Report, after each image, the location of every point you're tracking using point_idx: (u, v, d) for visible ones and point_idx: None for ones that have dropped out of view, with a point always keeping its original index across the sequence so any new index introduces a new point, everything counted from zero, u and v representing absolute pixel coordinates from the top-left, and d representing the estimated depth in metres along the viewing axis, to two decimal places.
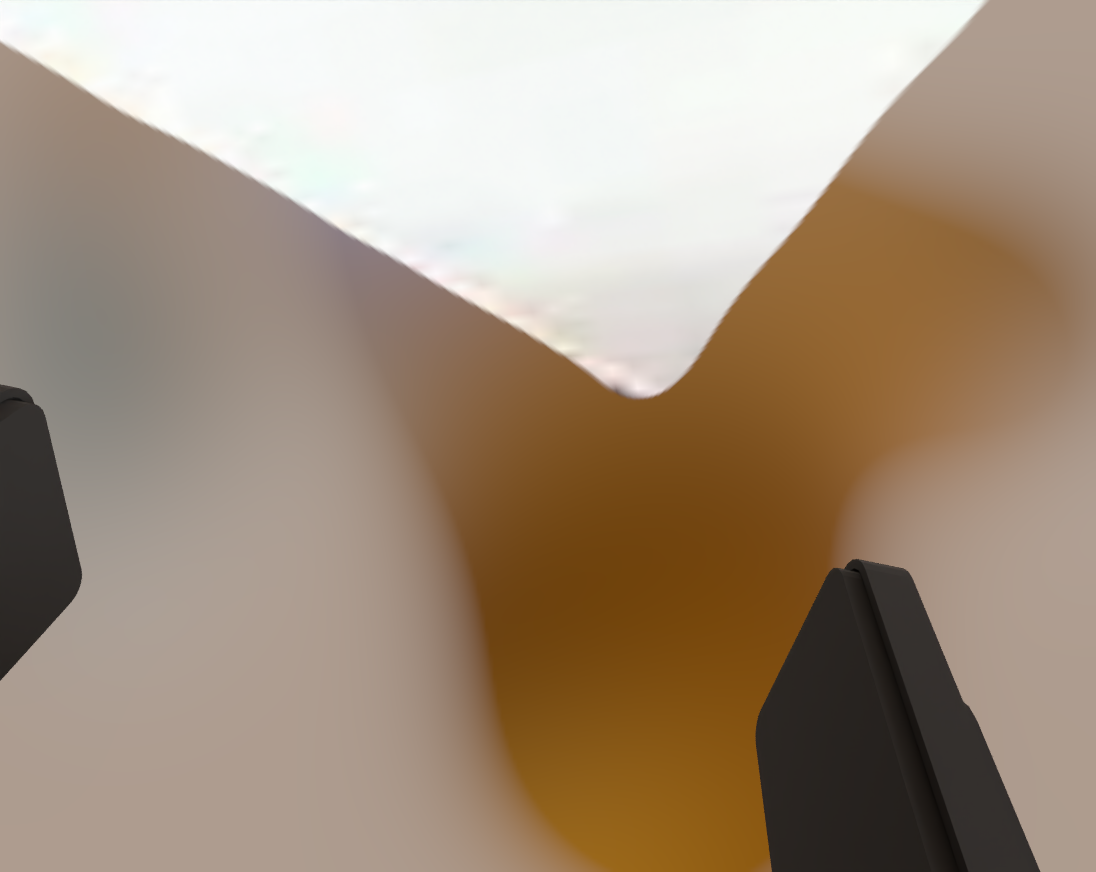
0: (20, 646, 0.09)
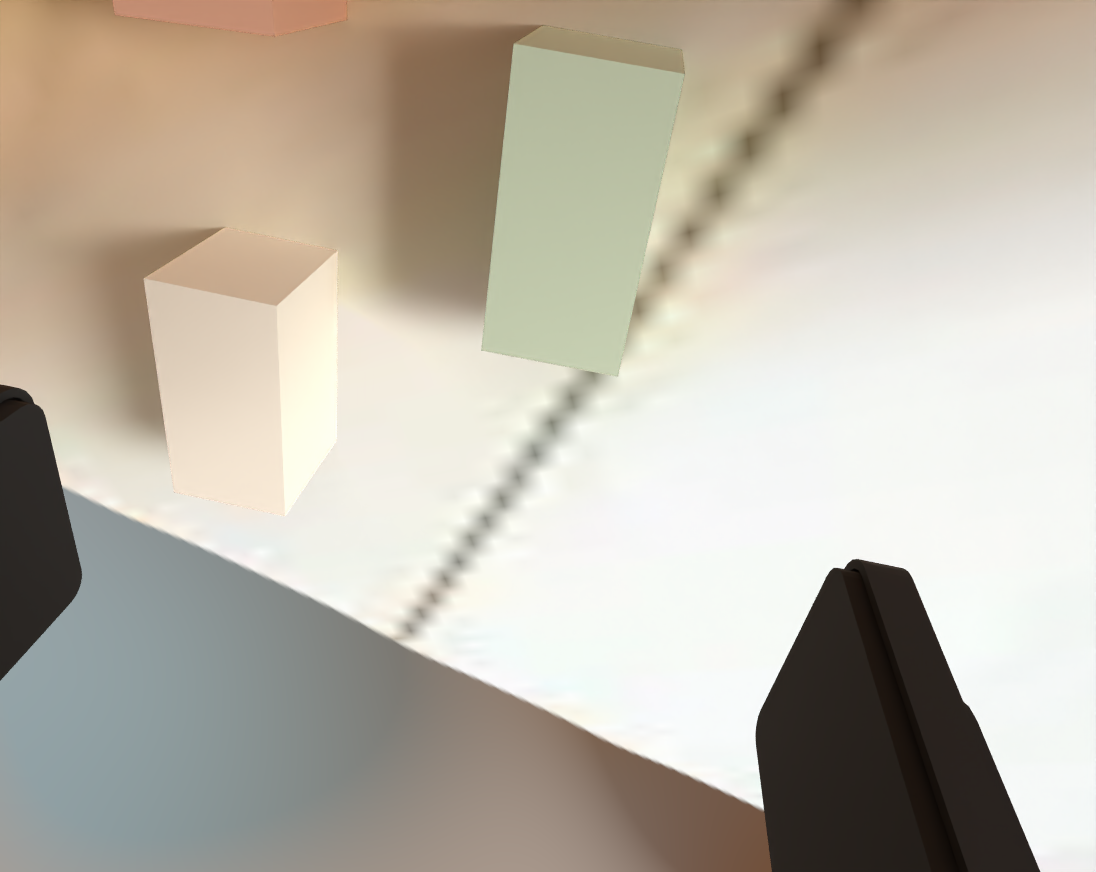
0: (20, 646, 0.09)
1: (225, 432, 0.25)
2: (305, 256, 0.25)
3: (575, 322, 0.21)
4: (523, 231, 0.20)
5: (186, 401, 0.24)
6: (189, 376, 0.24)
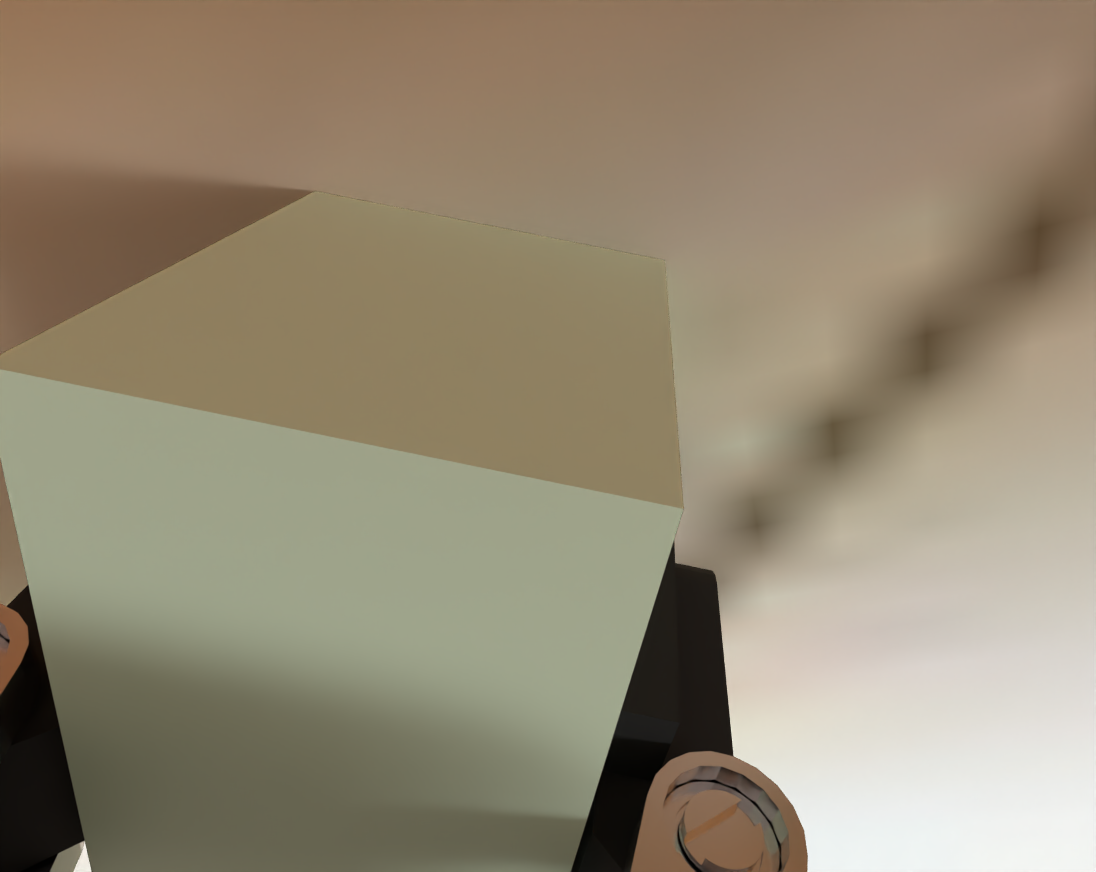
0: None
1: None
2: None
3: None
4: (174, 851, 0.06)
5: None
6: None
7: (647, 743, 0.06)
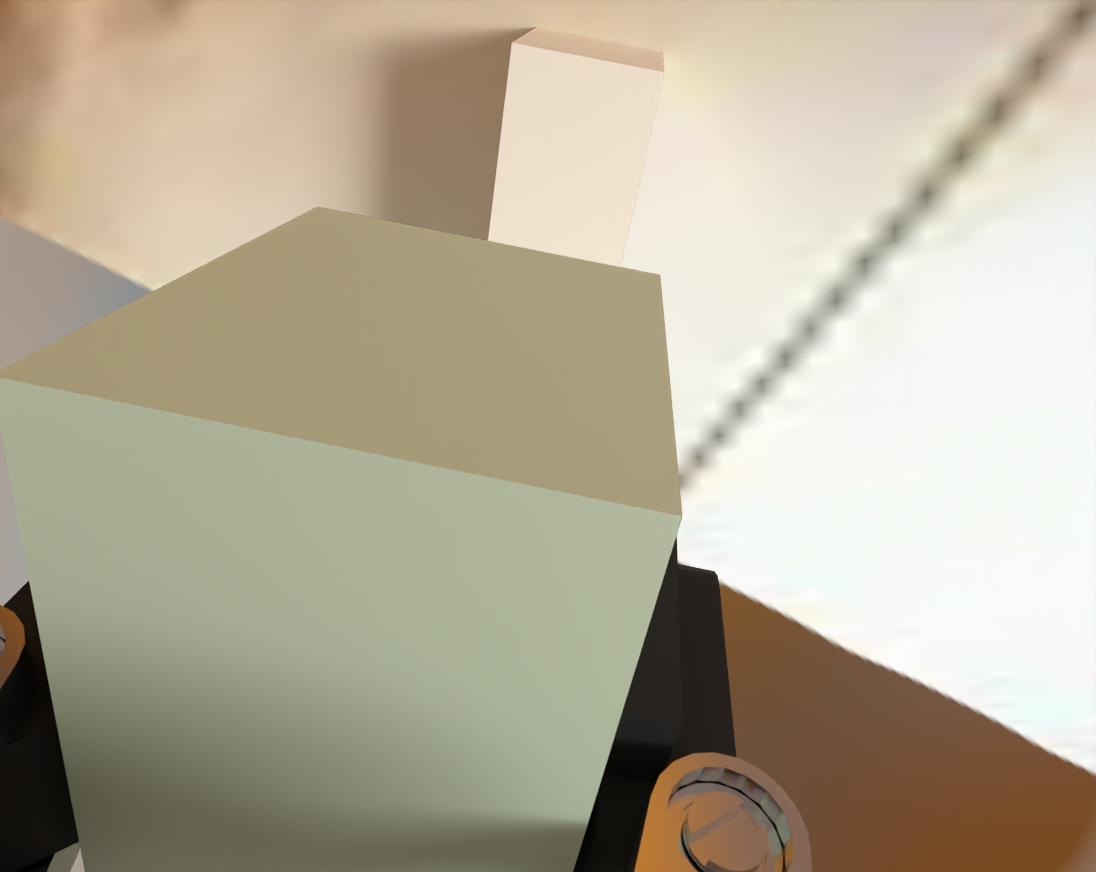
0: None
1: (559, 242, 0.22)
2: (639, 51, 0.23)
3: None
4: (172, 864, 0.06)
5: (522, 204, 0.22)
6: (534, 171, 0.21)
7: (650, 744, 0.06)
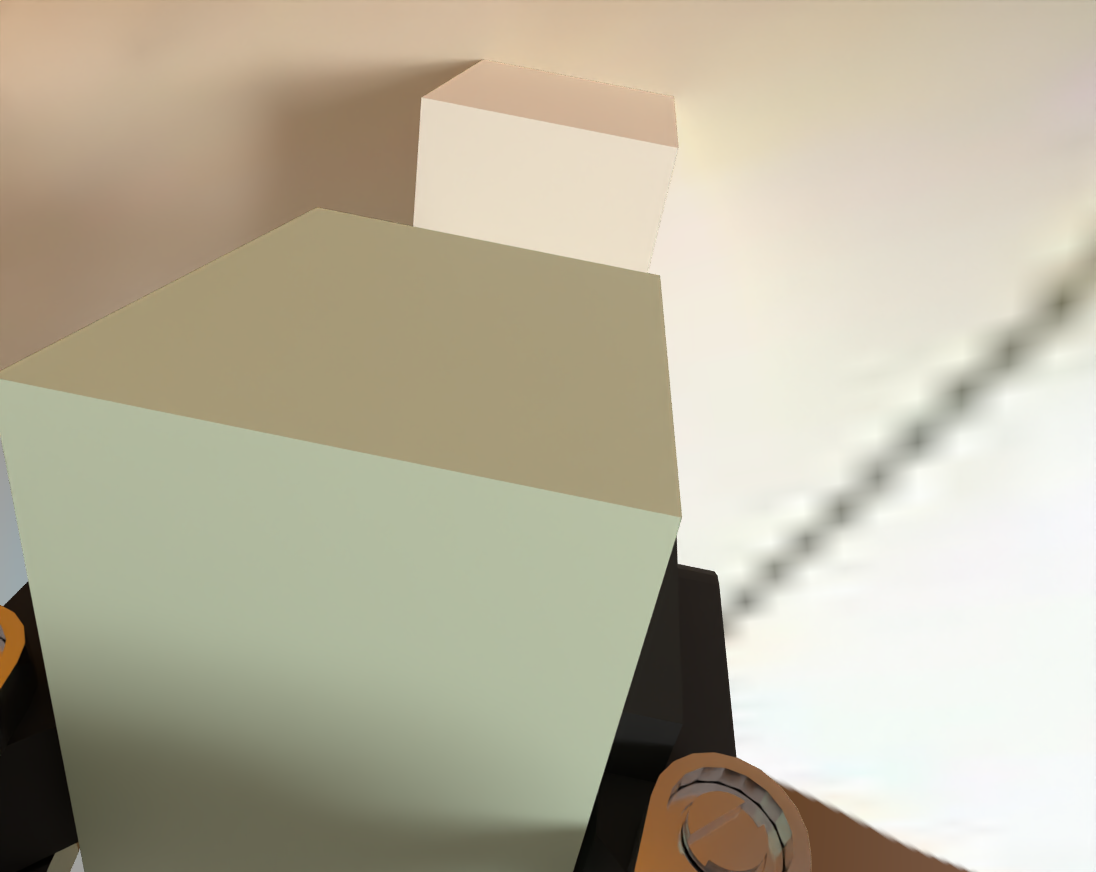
0: None
1: None
2: (638, 98, 0.15)
3: None
4: (172, 863, 0.06)
5: None
6: None
7: (650, 744, 0.06)
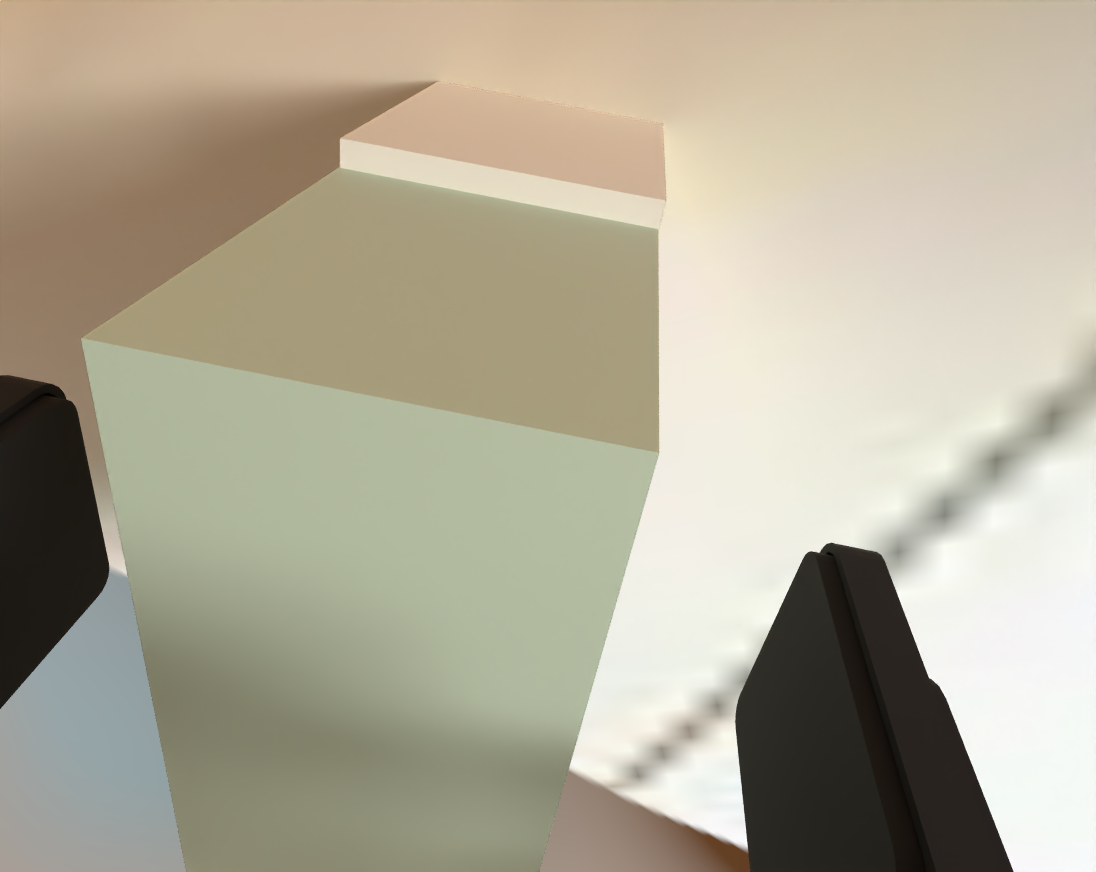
0: (51, 638, 0.09)
1: None
2: (619, 128, 0.12)
3: None
4: (235, 746, 0.08)
5: None
6: None
7: None
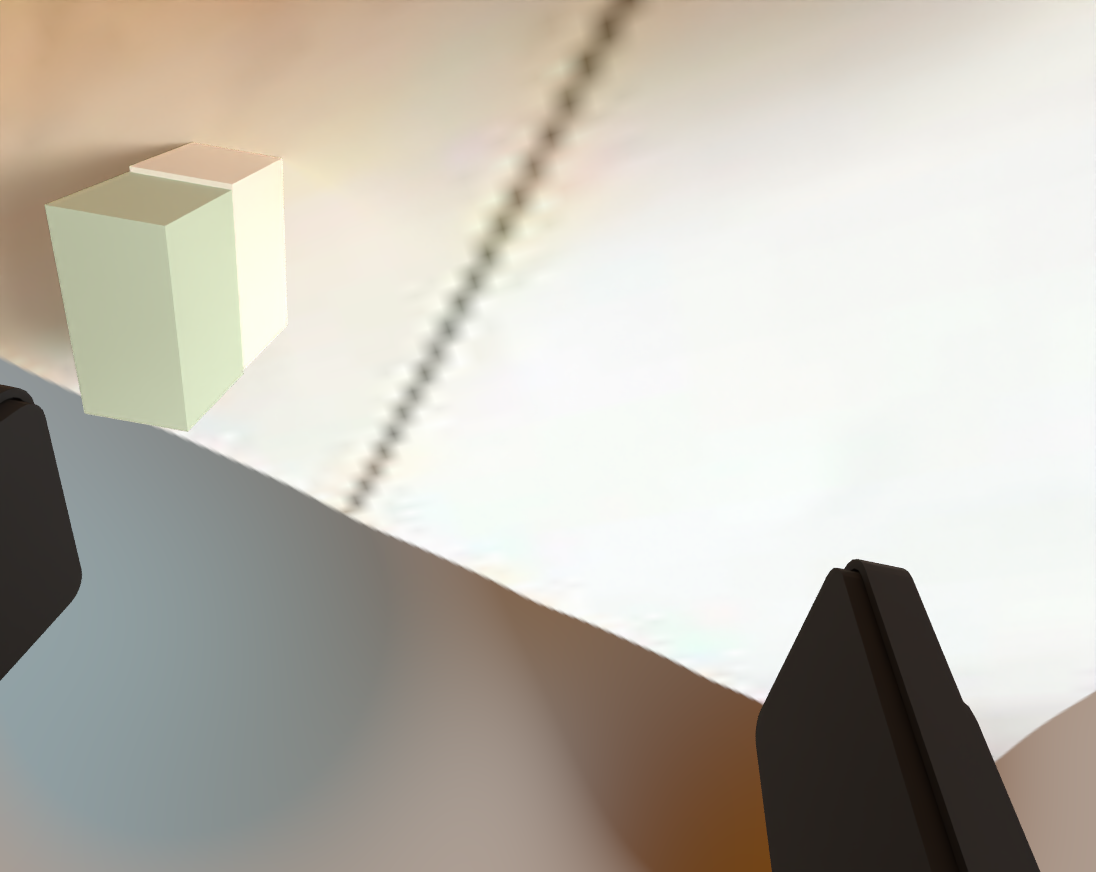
0: (20, 646, 0.09)
1: None
2: (255, 160, 0.32)
3: (145, 392, 0.28)
4: (89, 329, 0.27)
5: None
6: None
7: None
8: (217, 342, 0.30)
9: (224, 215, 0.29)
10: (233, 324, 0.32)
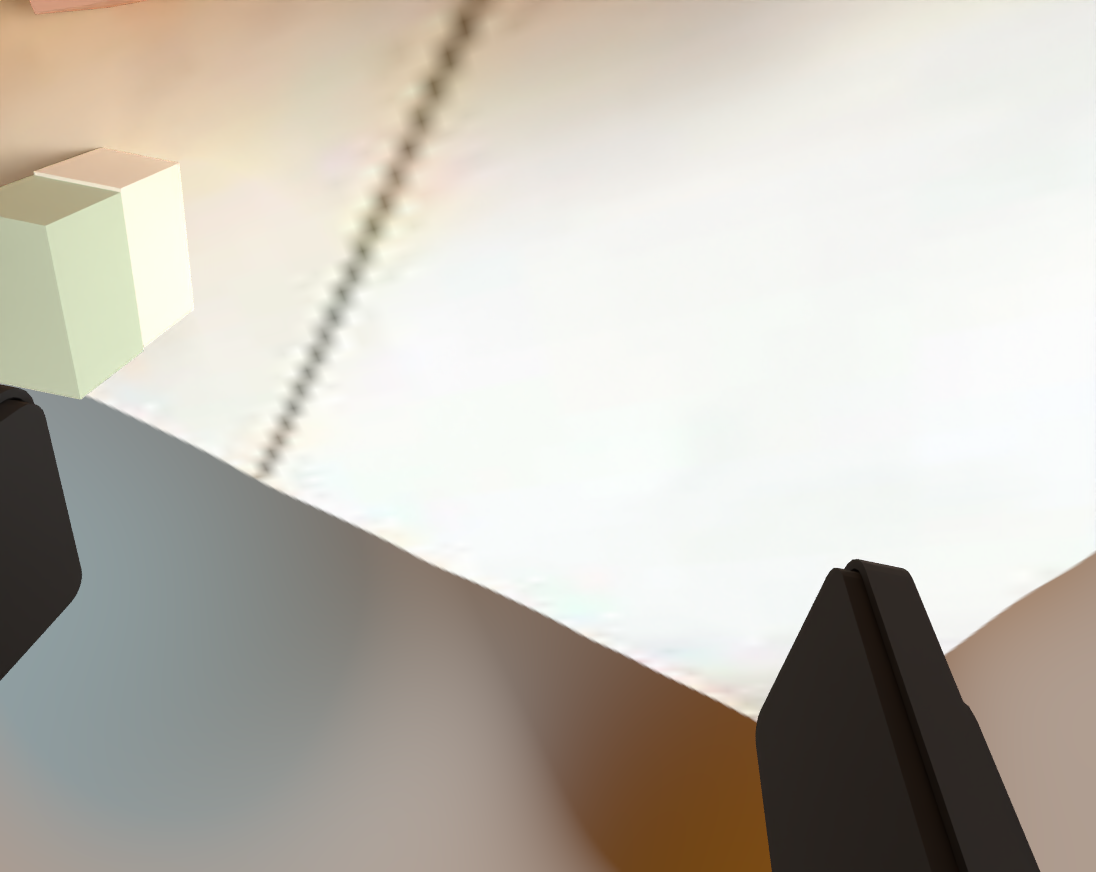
0: (20, 646, 0.09)
1: None
2: (152, 165, 0.37)
3: (42, 365, 0.33)
4: None
5: None
6: None
7: None
8: (111, 323, 0.35)
9: (113, 214, 0.34)
10: (129, 307, 0.36)
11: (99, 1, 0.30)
